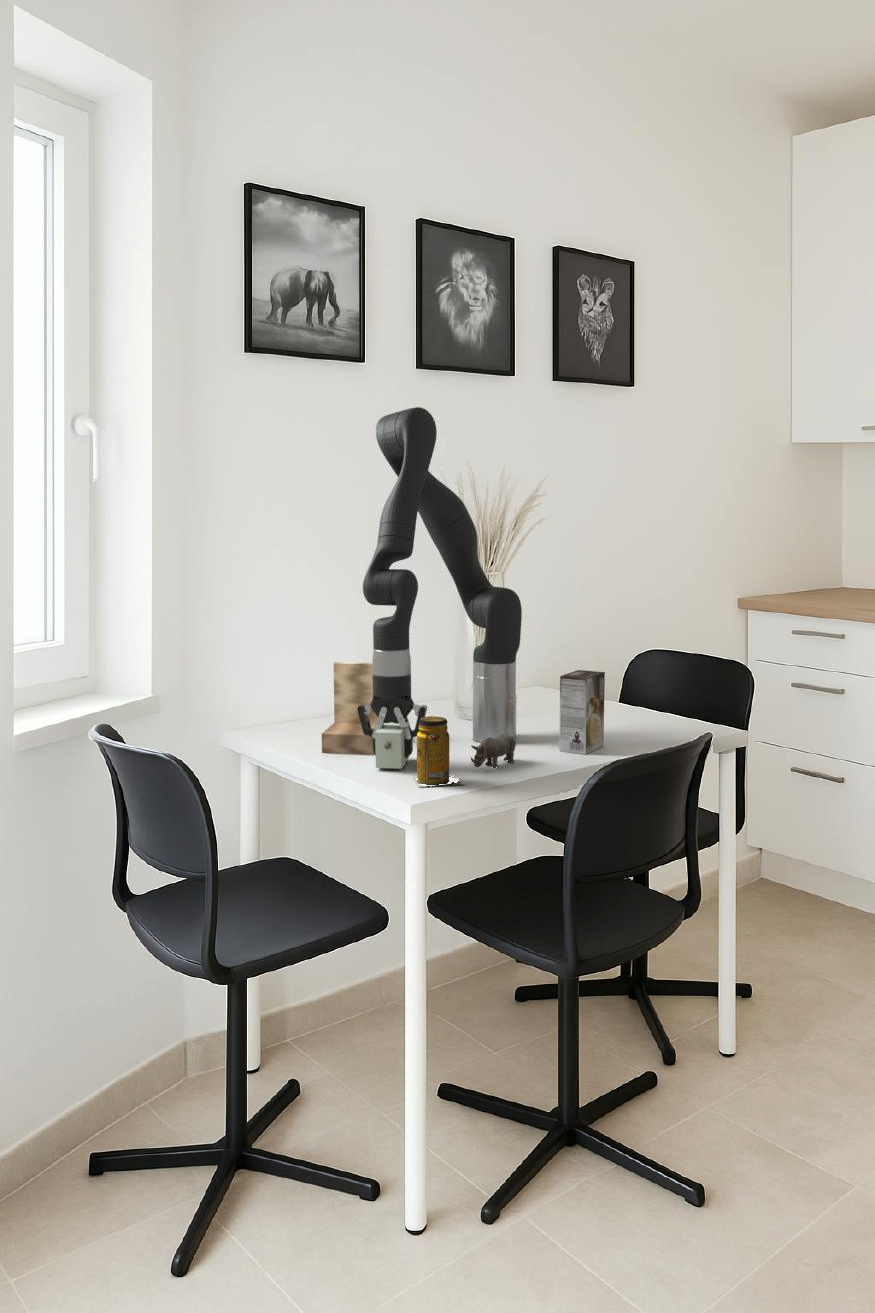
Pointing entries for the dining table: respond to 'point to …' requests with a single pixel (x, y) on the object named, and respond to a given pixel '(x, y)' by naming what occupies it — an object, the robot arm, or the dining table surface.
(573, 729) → the coffee box
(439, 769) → the condiment
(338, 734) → the ledge
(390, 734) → the mint green tall box
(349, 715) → the wall board
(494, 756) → the rhino figurine
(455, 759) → the dining table surface
